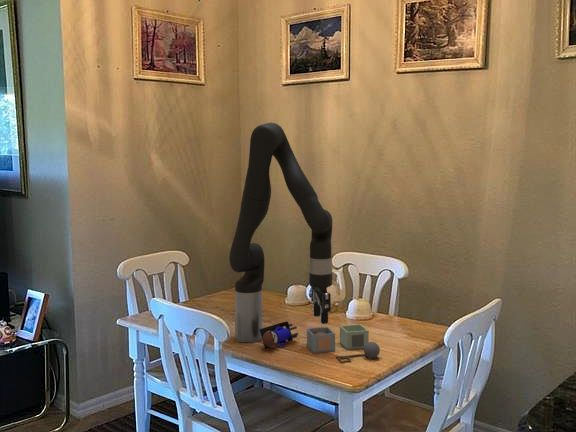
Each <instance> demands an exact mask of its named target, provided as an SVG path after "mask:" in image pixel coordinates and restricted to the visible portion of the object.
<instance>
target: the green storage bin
mask: <svg viewBox="0 0 576 432" xmlns="http://www.w3.org/2000/svg"><path fill="white" fill-rule="evenodd" d="M368 342H370V340H369V330H368V329H367V328H366V327H365V326H363V324H361V323H358V324H348V325H347V324H345V325H339V344H340V345H341V346H342V347H343V348H344V349H345V350H346V351H352V350H353V351H355V350H364V346H365V345H366V344H367V343H368Z"/></svg>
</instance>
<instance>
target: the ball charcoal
mask: <svg viewBox="0 0 576 432" xmlns="http://www.w3.org/2000/svg"><path fill="white" fill-rule="evenodd" d="M380 352H381V351H380V346H379V344H378V343H376V342H374V341H369V342H368V343H367V344H366V345H365V346H364V349H363V354H365V355H366V356H367V357H369V358H375V357H379V354H380Z"/></svg>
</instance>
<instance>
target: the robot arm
mask: <svg viewBox="0 0 576 432" xmlns="http://www.w3.org/2000/svg"><path fill="white" fill-rule="evenodd" d="M273 157H274V158H275V160H276V162H277V163H278V165H279V167H280V170H281V173H282V175H283V178H284V181H285V186H286V188H287V189H288V191H289V194H291V197H292V198H293V199H294V201H295V203H296V204H297V206H298V207H299V209H300V210H301V211H300V212H301V213H302V215H303V218H304V220H305V222H306V224H307V225H308V227H309V228H310V229H311V239H310V242H309V262H308V263H309V264H308V276H309V277H308V285H309V286H310V287H311V290H310V291H311V292H310V294H311V295H310V296H311V297H310V298H311V299H310V301H311V302H312V305H314V312H313V316H314V317H318V316H320V315H321V323H322V325H327V324H328V323H329V313H330V312H331V311H332V307H331V306H332V305H331V303H332V301H331V300H332V299H331V296H332V295H331V293H330V292H328V290H327V289H328V288H330V287H332V285H333V261H332V236H333V235H332V234H333V216H332V214H331V213H330V211H328V210H327V209H324V208H323V206H322V204H321V203H320V201H319V197H318V194H317V192H316V191H315V189H314V187H313V186H312V184H311V183H310V181H309V179H308V178H307V176H306V175H305V174H306V173H304V171H303V169H302V167H301V165H300V164H299V162H298V160H297V158H296V156H295V153H294V151H293V149H292V147H291V145H290V142H289V140H288V137H287V135H286V133H285V131H284V128H283V127H282V126H281V125H280V124H278V123H276V122H266V123H263V124H259V125H257V126H255V128H254V129H253V130H252V132H251V136H250V139H249V154H248V164H247V165H248V166H247V170H246V176H245V181H244V186H243V191H242V197H241V203H240V207H239V208H240V209H239V215H238V218H237V220H238V221H237V225H236V229H235V233H234V236H233V239H232V240H233V241H232V243H231V247H230V250H229V256H228V257H229V265H230V268H231V269H232V270H233V272H236V273H244V274H243V275H242V277H240V279H238V280H236V281H235V283H234V295H235V297H234V298H235V299H234V300H235V301H234V302H235V310H234V337H235V340H236V342H238V343H240V342H241V343H253V342H254V343H255V342H258V341H259V342H260V341H261V340H262V336H261V333H260V329H262V328H264V327H263V325H264V324H263V283H264V281H265V279H264V278H265V254H264V250H263V248H262V246H261V245H260V244H258V243H256V242H252V239H253V236H254V234H255V232H256V230H258V228H259V226H260V225H261V224H262V222H263V221H264V219H265V218H266V216H267V215H268V211H269V207H270V203H271V196H272V185H271V178H270V167H271V163H272V159H273ZM325 306H326V308H325ZM328 312H329V313H328ZM321 323H320V324H321Z"/></svg>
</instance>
